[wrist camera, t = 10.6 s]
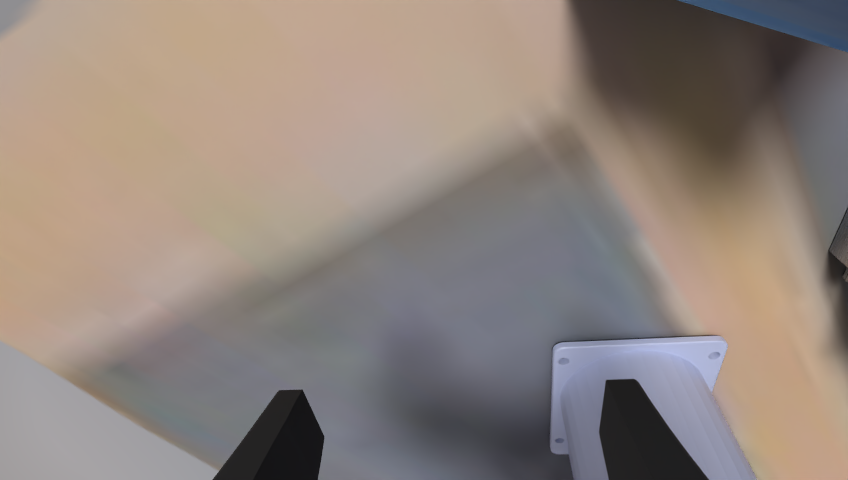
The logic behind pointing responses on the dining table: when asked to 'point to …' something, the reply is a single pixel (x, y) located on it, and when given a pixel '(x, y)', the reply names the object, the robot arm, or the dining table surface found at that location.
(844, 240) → the grey and white bar
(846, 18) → the perfume bottle
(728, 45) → the dining table surface
